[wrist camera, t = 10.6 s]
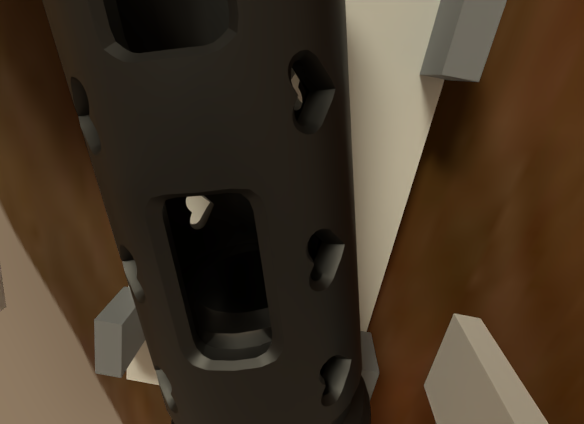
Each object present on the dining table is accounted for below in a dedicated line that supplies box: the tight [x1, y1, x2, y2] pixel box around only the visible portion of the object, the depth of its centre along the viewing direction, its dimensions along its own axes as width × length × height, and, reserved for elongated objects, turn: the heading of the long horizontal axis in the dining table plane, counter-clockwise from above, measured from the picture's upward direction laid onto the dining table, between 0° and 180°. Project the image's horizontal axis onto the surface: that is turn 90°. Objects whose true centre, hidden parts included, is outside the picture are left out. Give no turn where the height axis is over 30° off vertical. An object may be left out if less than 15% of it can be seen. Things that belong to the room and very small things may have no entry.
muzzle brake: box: [42, 0, 371, 424], centre depth 15 cm, size 10×28×10 cm, turn 6°
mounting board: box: [94, 0, 507, 399], centre depth 21 cm, size 32×17×5 cm, turn 170°
